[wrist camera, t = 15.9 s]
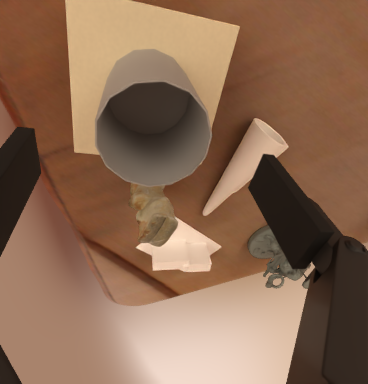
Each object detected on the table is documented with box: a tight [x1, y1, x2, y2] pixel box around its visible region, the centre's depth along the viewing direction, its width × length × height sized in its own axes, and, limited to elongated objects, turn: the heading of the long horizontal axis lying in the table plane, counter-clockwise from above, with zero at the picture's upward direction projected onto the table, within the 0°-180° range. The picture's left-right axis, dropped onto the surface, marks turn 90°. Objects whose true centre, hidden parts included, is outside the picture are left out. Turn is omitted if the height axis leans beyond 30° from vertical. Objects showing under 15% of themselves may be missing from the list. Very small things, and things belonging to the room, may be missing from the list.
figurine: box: [248, 225, 311, 289], centre depth 53 cm, size 11×11×12 cm
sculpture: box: [129, 183, 178, 247], centre depth 36 cm, size 6×7×15 cm
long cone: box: [203, 118, 288, 216], centre depth 43 cm, size 6×6×19 cm
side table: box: [65, 0, 240, 164], centre depth 30 cm, size 15×15×8 cm
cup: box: [95, 49, 212, 187], centre depth 23 cm, size 8×8×10 cm
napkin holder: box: [136, 217, 221, 272], centre depth 53 cm, size 15×11×6 cm
